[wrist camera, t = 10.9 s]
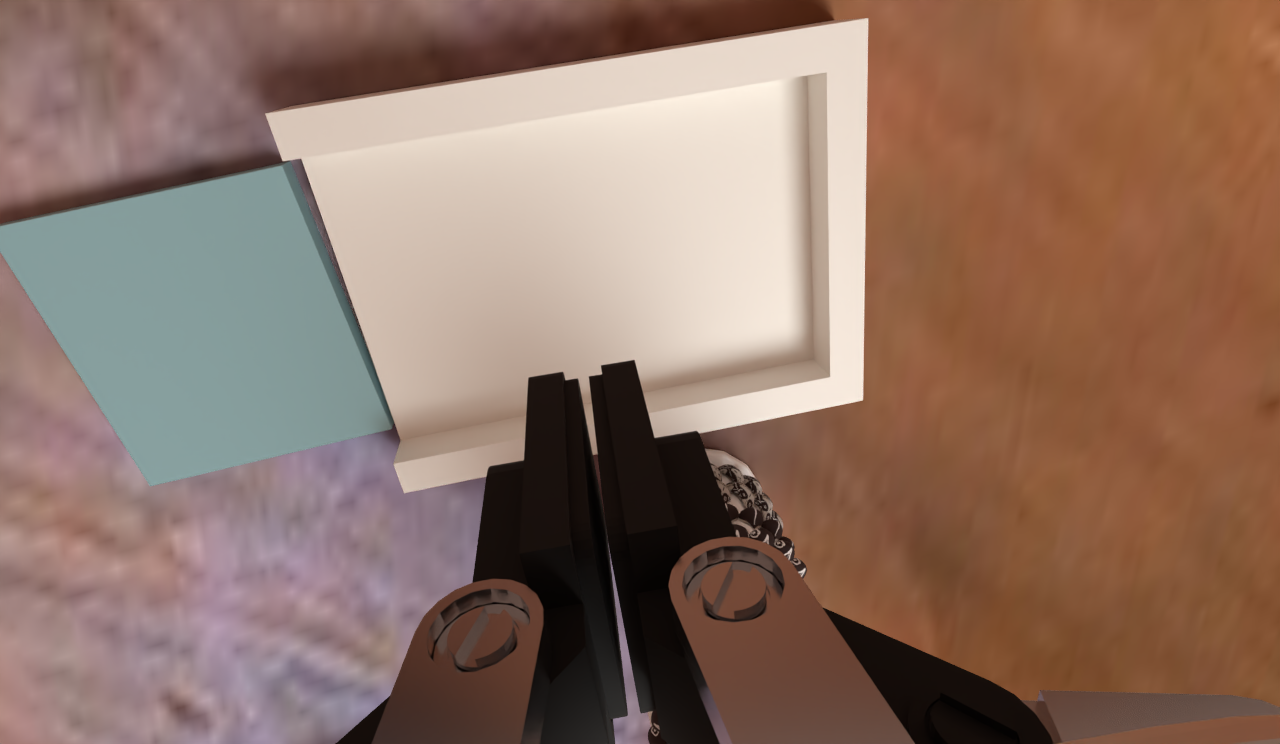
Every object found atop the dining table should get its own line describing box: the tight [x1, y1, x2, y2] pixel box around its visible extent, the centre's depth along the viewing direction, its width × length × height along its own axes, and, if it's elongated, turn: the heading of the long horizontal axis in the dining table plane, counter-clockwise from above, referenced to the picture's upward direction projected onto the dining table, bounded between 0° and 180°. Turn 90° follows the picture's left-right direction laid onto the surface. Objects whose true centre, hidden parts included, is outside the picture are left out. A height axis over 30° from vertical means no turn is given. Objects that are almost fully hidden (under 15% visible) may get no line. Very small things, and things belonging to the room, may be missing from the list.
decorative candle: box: [648, 449, 807, 744], centre depth 26 cm, size 9×9×25 cm
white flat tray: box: [266, 18, 868, 493], centre depth 29 cm, size 16×22×3 cm
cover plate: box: [0, 161, 394, 486], centre depth 29 cm, size 12×11×2 cm
